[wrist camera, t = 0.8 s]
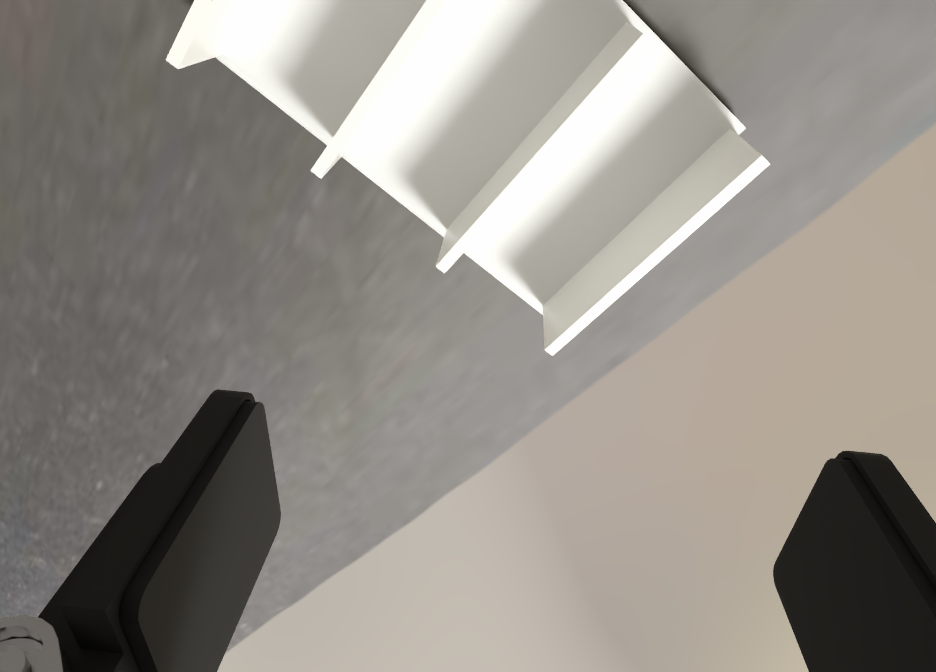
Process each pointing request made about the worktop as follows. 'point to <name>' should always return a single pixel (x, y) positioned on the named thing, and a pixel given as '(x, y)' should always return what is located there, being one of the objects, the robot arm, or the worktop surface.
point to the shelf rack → (500, 129)
